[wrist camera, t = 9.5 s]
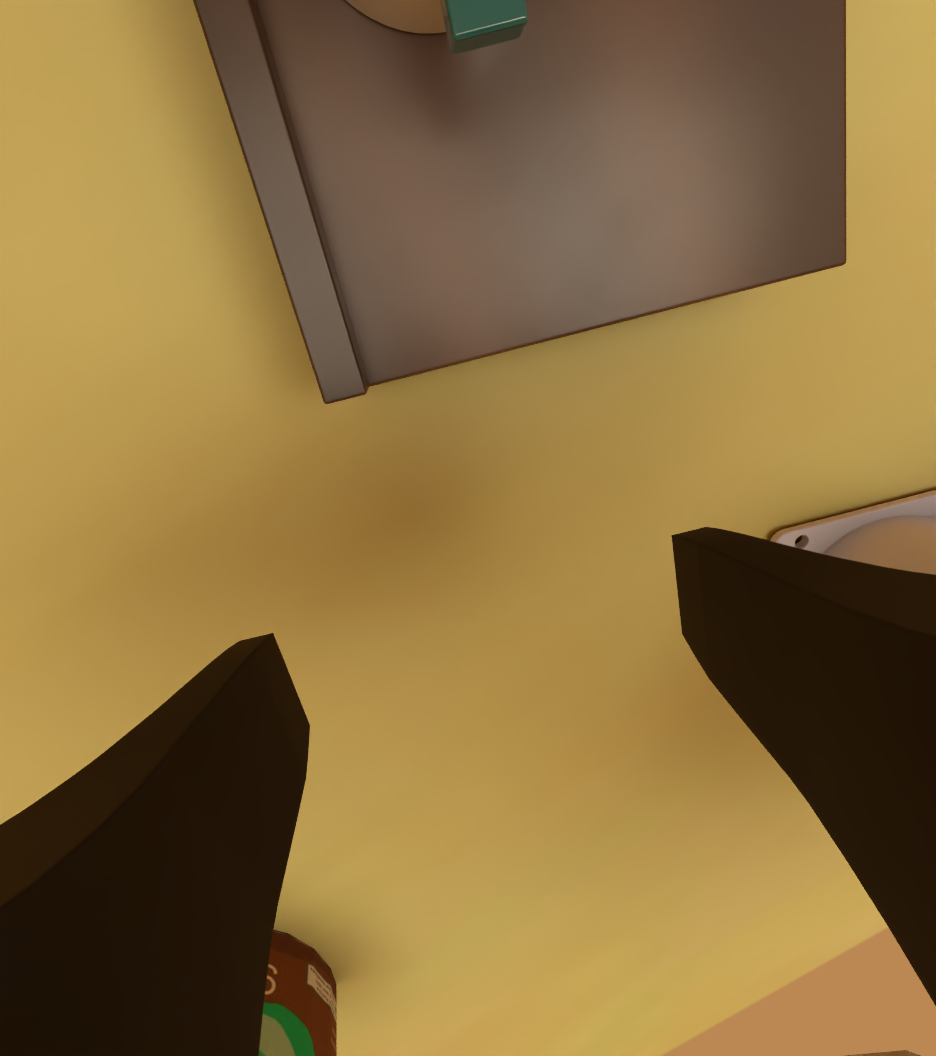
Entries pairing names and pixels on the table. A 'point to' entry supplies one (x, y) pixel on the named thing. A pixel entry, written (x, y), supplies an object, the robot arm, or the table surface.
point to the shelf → (531, 168)
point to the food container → (298, 1002)
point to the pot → (452, 19)
